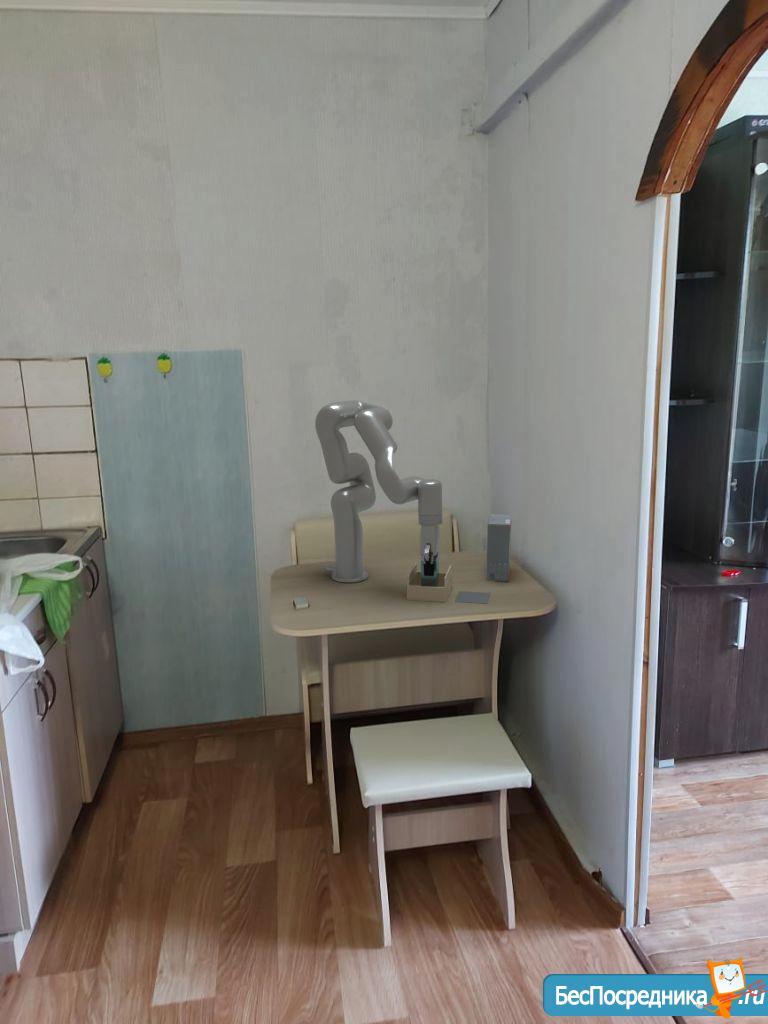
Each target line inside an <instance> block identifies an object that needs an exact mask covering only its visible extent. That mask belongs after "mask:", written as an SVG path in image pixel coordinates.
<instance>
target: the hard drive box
mask: <svg viewBox="0 0 768 1024" xmlns="http://www.w3.org/2000/svg"><path fill="white" fill-rule="evenodd" d="M512 516H513V515H512V514H501V513H500V514H497V513H495V514H493V513H491V514H489V519H488V521H487V529H486V531H487V533H486V535H487V536H486V561H485V562H486V563H485V565H486V566H485V580H486V581H495V582H505V581H508V582H509V577H510V569H511V567H510V566H511V548H512V547H511V546H512V544H511V542H512V537H511V536H512Z"/></svg>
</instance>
